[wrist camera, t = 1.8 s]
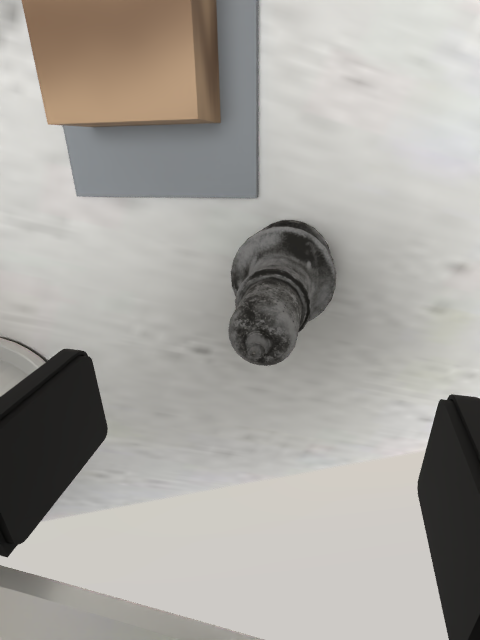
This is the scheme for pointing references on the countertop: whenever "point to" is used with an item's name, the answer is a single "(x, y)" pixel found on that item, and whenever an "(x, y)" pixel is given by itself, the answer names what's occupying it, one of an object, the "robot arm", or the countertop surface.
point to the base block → (126, 61)
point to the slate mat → (184, 134)
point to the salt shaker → (278, 289)
